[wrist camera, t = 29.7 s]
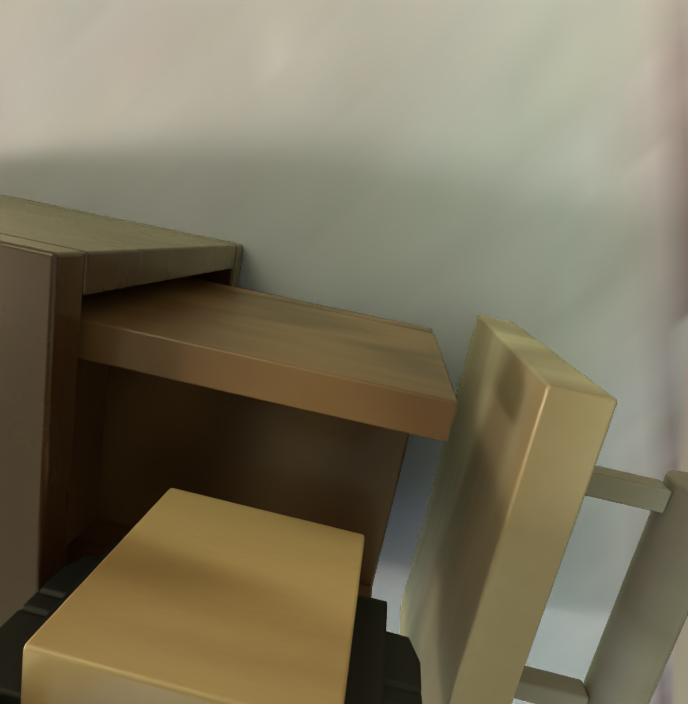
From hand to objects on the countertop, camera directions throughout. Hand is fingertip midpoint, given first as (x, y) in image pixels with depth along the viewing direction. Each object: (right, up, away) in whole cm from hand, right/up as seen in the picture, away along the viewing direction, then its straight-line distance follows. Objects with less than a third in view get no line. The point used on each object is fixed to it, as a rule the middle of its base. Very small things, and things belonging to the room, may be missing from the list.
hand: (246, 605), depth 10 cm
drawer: (+2, +2, +7) cm, 8 cm away
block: (0, 0, 0) cm, 0 cm away
